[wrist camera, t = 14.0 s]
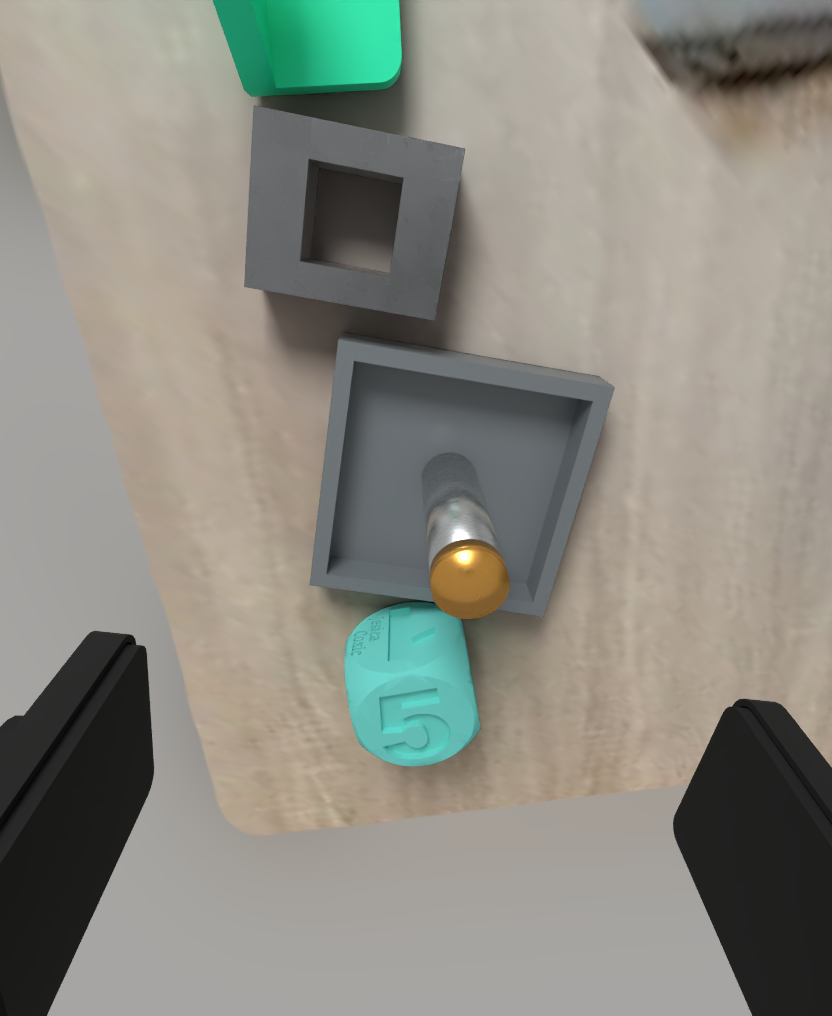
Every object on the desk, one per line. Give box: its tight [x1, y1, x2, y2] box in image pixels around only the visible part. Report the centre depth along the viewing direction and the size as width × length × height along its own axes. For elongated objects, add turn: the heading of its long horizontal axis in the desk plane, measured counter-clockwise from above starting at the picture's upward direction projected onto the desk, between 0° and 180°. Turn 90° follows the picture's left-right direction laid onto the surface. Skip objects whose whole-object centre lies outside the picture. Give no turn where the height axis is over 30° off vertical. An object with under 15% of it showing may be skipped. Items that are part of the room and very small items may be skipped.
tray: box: [310, 332, 615, 617], centre depth 38 cm, size 16×16×3 cm
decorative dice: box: [345, 602, 481, 766], centre depth 42 cm, size 8×8×8 cm
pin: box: [422, 453, 510, 619], centre depth 33 cm, size 4×4×13 cm
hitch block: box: [244, 105, 465, 321], centre depth 31 cm, size 10×8×4 cm
